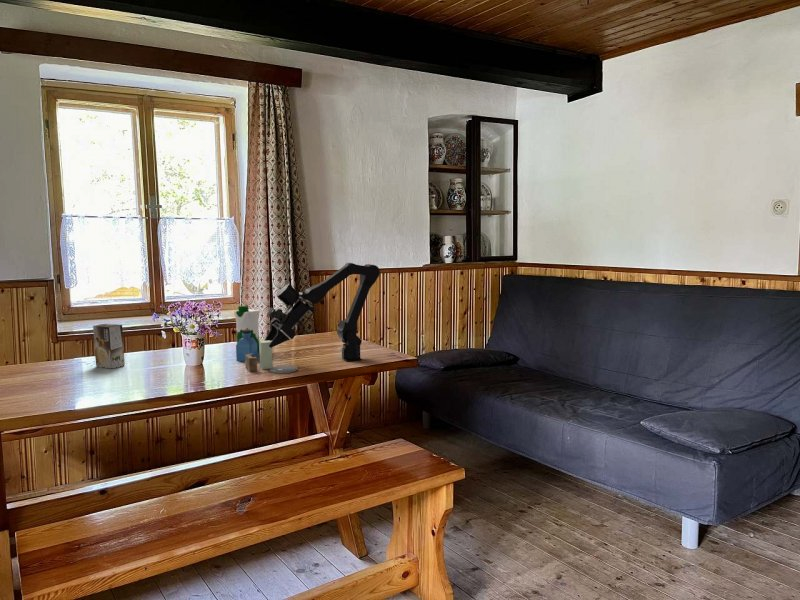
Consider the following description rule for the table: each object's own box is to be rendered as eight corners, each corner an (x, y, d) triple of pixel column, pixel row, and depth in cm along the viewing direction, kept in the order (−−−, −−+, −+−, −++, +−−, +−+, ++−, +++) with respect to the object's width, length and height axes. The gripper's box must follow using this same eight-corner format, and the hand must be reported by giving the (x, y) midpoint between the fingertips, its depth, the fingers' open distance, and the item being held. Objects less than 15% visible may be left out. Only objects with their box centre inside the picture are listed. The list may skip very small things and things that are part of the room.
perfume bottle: (251, 361, 242) (250, 331, 240) (236, 360, 243) (235, 331, 242) (257, 358, 248) (256, 329, 246) (243, 357, 249) (242, 328, 248)
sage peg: (270, 366, 233) (269, 340, 232) (272, 368, 230) (271, 342, 228) (259, 367, 232) (259, 341, 231) (262, 369, 228) (261, 342, 227)
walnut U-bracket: (252, 366, 233) (252, 353, 232) (257, 371, 225) (256, 357, 224) (245, 367, 232) (245, 354, 231) (249, 371, 224) (249, 358, 223)
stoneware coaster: (293, 366, 233) (293, 364, 233) (300, 371, 224) (300, 370, 224) (267, 368, 229) (267, 367, 229) (273, 374, 220) (273, 372, 220)
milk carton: (233, 353, 258) (231, 306, 256) (249, 349, 265) (247, 303, 263) (248, 355, 253) (246, 307, 251) (263, 351, 261) (262, 305, 259)
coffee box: (125, 365, 236) (123, 324, 234) (112, 369, 230) (109, 326, 228) (108, 363, 239) (106, 323, 238) (94, 367, 234) (92, 325, 232)
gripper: (275, 297, 239) (247, 327, 235) (286, 302, 222) (256, 334, 218) (295, 316, 243) (268, 345, 239) (307, 322, 226) (278, 354, 222)
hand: (267, 344), depth 230 cm, fingers open, 9 cm apart
